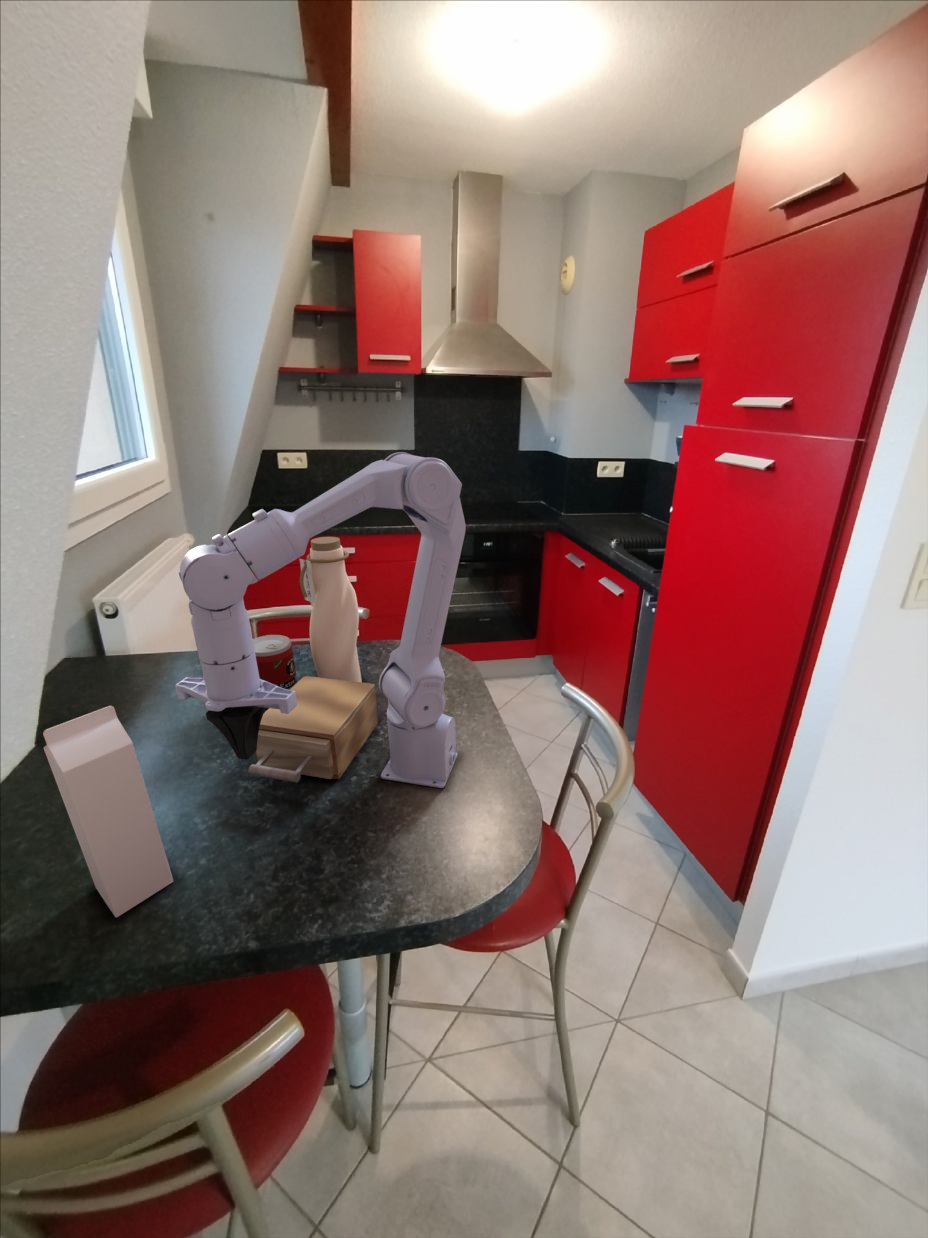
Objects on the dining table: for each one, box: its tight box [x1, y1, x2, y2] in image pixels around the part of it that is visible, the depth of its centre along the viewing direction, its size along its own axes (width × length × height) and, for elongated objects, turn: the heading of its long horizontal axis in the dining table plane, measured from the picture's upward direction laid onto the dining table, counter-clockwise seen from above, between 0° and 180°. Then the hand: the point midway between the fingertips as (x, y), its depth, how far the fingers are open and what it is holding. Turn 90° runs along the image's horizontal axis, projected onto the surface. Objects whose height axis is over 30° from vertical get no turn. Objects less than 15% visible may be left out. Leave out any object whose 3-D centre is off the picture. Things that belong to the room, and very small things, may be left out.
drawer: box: [247, 730, 334, 784], centre depth 78 cm, size 18×11×6 cm, turn 166°
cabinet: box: [259, 675, 379, 780], centre depth 82 cm, size 15×13×8 cm
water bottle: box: [299, 536, 363, 683], centre depth 96 cm, size 10×9×28 cm
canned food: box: [252, 634, 298, 690], centre depth 95 cm, size 8×8×11 cm
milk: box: [42, 705, 174, 919], centre depth 55 cm, size 6×6×22 cm
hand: (247, 754), depth 64 cm, fingers closed
